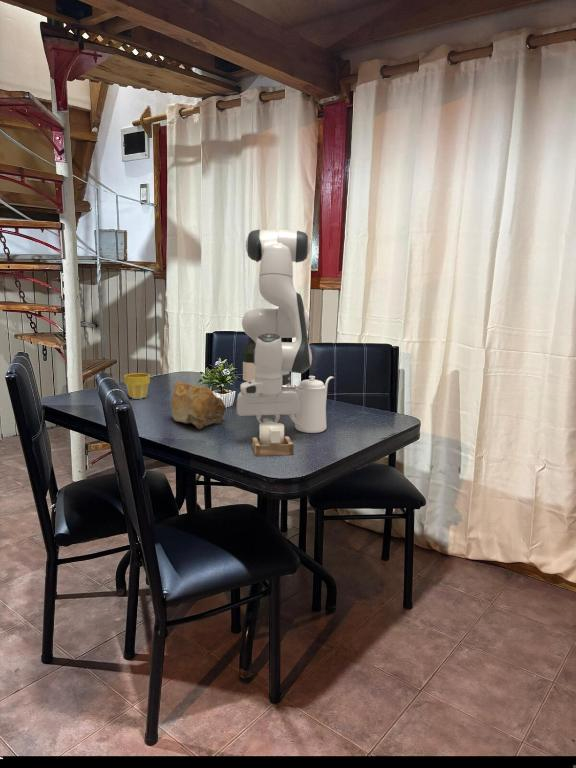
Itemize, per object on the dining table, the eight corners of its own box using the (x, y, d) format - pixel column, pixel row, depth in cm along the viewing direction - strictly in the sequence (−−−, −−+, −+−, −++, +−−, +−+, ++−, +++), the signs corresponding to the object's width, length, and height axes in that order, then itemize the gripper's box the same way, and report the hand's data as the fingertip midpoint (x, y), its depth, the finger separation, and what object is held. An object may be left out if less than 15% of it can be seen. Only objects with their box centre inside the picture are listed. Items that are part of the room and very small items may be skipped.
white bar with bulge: (278, 438, 188) (278, 418, 187) (288, 453, 171) (288, 430, 170) (255, 439, 186) (255, 418, 185) (262, 454, 170) (263, 431, 168)
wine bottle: (264, 388, 263) (265, 322, 257) (254, 391, 256) (254, 324, 250) (249, 385, 268) (250, 321, 261) (239, 388, 261) (239, 322, 254)
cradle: (252, 446, 178) (252, 437, 178) (288, 445, 180) (288, 436, 180) (256, 456, 170) (256, 446, 169) (293, 454, 172) (293, 444, 171)
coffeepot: (344, 424, 205) (346, 373, 201) (301, 440, 186) (302, 383, 182) (320, 419, 212) (321, 369, 208) (276, 433, 193) (276, 378, 189)
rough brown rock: (238, 430, 199) (240, 387, 197) (193, 433, 189) (195, 388, 187) (208, 417, 218) (210, 378, 216) (167, 419, 208) (168, 378, 206)
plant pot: (129, 394, 245) (128, 372, 243) (153, 395, 245) (152, 373, 243) (121, 400, 235) (120, 377, 233) (146, 401, 234) (145, 377, 232)
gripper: (298, 383, 187) (297, 424, 189) (235, 384, 183) (235, 426, 186) (302, 387, 181) (301, 429, 183) (237, 388, 177) (237, 431, 180)
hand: (267, 427), depth 185 cm, fingers open, 2 cm apart
